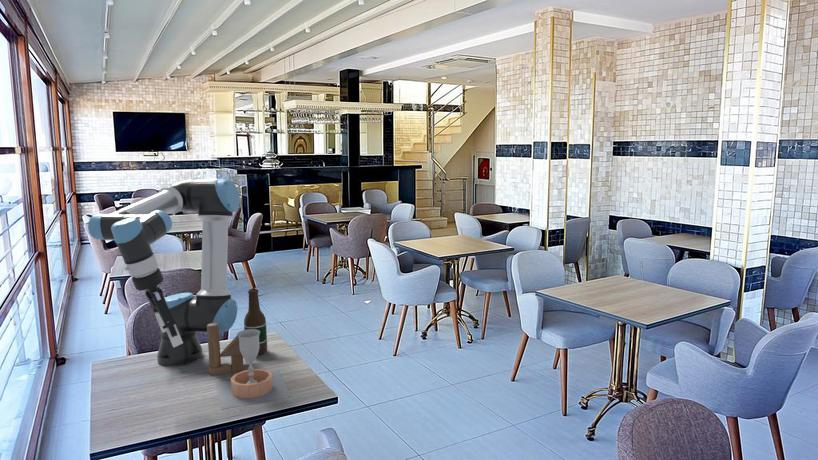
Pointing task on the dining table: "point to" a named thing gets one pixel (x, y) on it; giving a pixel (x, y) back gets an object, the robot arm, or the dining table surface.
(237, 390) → the ceramic collar
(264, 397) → the slate board
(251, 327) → the beer bottle
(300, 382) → the dining table surface
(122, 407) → the dining table surface
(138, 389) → the dining table surface
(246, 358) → the chalice
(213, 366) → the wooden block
